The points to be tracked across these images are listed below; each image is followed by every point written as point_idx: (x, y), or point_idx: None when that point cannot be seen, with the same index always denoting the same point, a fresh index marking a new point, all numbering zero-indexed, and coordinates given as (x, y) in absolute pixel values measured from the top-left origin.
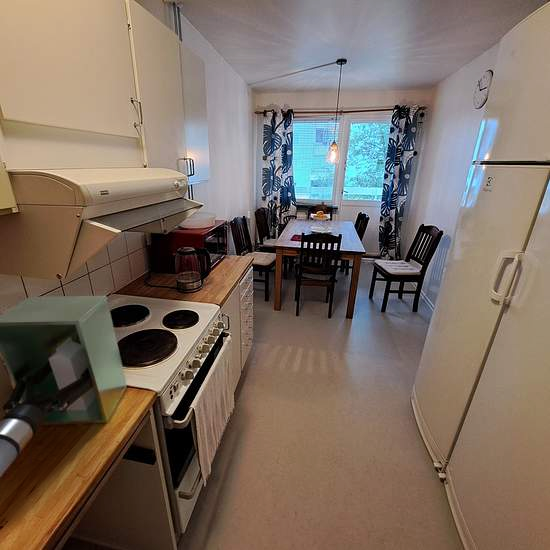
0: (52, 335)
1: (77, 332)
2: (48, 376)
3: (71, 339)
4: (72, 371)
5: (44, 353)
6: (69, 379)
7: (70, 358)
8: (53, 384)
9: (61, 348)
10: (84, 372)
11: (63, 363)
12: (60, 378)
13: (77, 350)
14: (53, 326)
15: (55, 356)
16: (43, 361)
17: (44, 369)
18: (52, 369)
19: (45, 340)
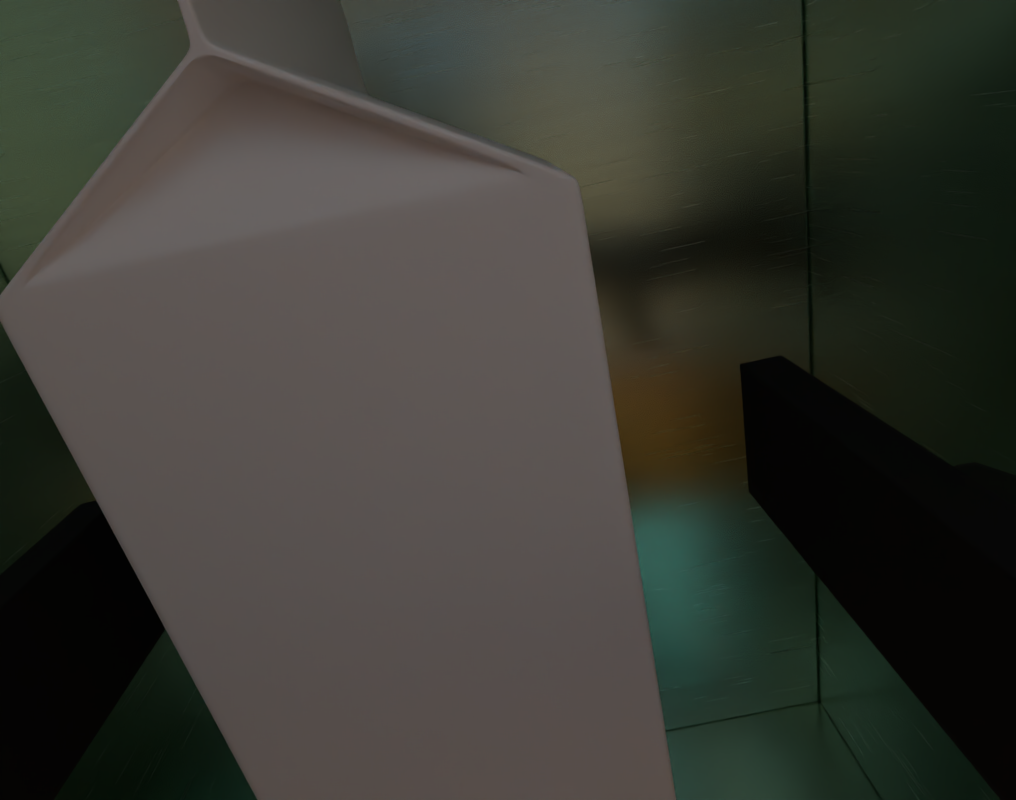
0: (69, 181)
1: (378, 66)
2: (131, 724)
3: (356, 60)
4: (608, 566)
5: (20, 438)
6: (522, 753)
7: (572, 182)
8: (202, 796)
9: (262, 20)
10: (998, 523)
11: (394, 380)
12: (345, 761)
13: (540, 159)
14: (49, 11)
15: (159, 201)
16: (25, 541)
17: (7, 631)
18: (155, 597)
19: (3, 280)
